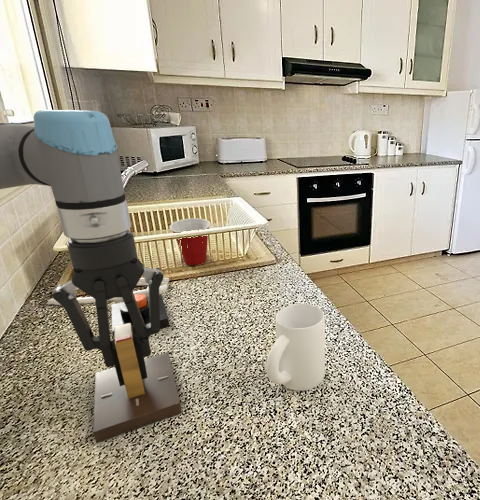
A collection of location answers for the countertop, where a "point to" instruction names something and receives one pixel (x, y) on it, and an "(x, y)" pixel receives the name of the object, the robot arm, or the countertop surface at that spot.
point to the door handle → (120, 299)
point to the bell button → (141, 300)
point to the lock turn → (128, 360)
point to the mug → (298, 348)
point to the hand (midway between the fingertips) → (133, 376)
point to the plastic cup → (192, 240)
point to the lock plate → (134, 400)
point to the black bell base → (123, 317)
